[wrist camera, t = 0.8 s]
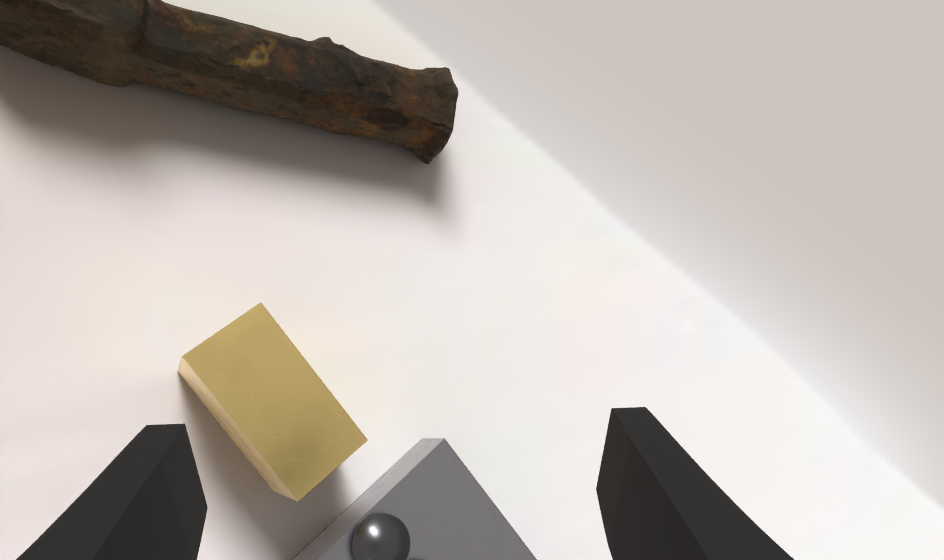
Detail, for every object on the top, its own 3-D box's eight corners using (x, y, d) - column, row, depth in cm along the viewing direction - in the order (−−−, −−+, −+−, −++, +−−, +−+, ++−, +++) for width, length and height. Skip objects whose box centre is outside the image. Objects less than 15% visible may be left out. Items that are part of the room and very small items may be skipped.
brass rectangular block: (333, 440, 27) (367, 440, 23) (273, 491, 26) (298, 501, 21) (243, 325, 27) (260, 302, 22) (177, 371, 25) (181, 356, 21)
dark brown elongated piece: (433, 101, 33) (472, 52, 29) (427, 173, 32) (467, 133, 28) (-16, -33, 26) (-48, -124, 21) (-44, 56, 24) (-84, -23, 20)
